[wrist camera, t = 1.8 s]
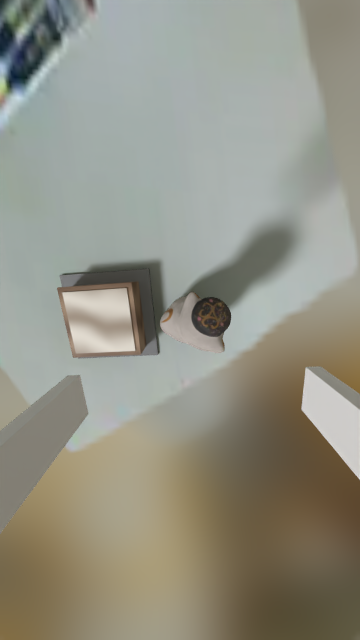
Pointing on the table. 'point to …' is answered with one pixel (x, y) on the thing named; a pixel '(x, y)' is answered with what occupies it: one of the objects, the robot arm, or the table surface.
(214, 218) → the table surface
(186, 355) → the table surface
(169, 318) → the figurine
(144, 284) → the mat
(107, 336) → the plinth
